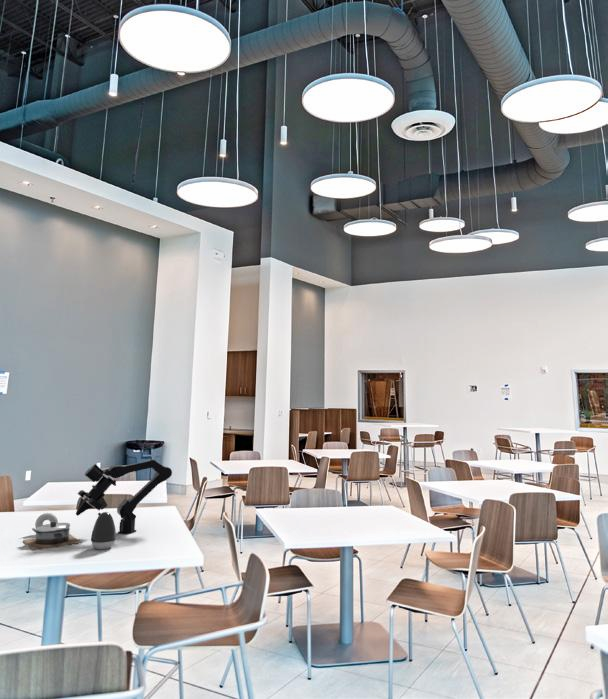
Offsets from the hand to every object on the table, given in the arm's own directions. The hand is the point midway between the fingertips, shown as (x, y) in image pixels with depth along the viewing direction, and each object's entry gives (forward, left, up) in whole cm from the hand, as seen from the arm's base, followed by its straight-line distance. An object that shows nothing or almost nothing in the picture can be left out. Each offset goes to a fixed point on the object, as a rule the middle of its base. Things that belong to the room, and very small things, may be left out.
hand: (76, 515), depth 239 cm
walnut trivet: (+4, +11, -10) cm, 15 cm away
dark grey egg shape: (-24, +13, -11) cm, 29 cm away
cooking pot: (+4, +11, -10) cm, 15 cm away
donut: (+19, -2, -11) cm, 22 cm away
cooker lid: (+4, +11, -4) cm, 12 cm away
